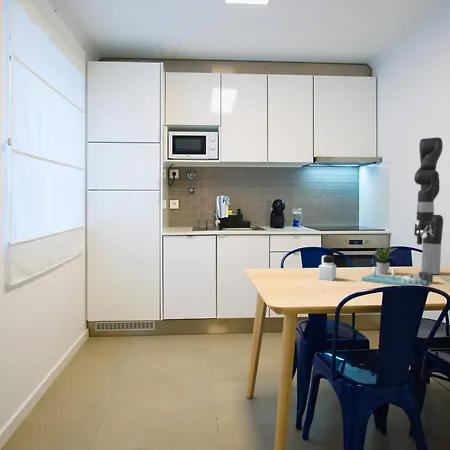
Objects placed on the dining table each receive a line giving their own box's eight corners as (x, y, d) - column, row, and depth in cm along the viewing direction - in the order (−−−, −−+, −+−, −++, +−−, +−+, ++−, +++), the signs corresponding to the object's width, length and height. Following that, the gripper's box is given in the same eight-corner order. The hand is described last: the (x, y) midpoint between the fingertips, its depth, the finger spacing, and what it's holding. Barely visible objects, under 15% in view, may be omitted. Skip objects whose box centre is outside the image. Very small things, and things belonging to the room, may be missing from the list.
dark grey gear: (420, 280, 209) (421, 270, 208) (434, 282, 204) (434, 272, 204) (416, 282, 204) (417, 272, 204) (430, 284, 200) (431, 274, 199)
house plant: (393, 271, 234) (395, 243, 233) (402, 276, 220) (403, 246, 219) (368, 270, 235) (369, 242, 234) (374, 275, 221) (375, 245, 220)
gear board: (373, 276, 218) (373, 264, 217) (427, 284, 200) (428, 270, 199) (361, 280, 206) (362, 267, 206) (418, 288, 189) (418, 274, 188)
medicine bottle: (336, 278, 212) (336, 255, 211) (332, 280, 205) (332, 257, 205) (322, 276, 215) (323, 254, 214) (318, 279, 209) (319, 256, 208)
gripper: (425, 210, 207) (424, 241, 208) (410, 211, 199) (409, 244, 200) (440, 210, 201) (438, 243, 202) (425, 211, 193) (423, 245, 194)
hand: (424, 243), depth 201 cm, fingers open, 8 cm apart
